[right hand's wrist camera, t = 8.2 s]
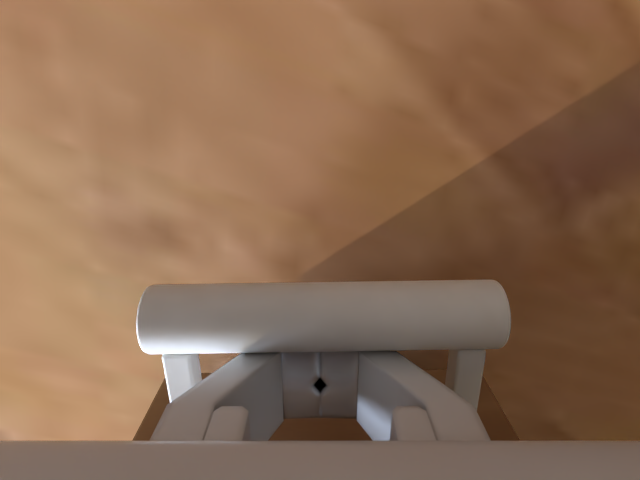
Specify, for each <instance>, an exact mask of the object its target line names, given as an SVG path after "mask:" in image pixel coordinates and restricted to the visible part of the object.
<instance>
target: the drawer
mask: <svg viewBox="0 0 640 480" xmlns="http://www.w3.org/2000/svg"><path fill="white" fill-rule="evenodd" d="M136 328H137V337H138V342H139V345H140V347H141V349H142V350H143V351H144V352H145V353H147V354H163V355H162V361H163V367H164V372H165V379H164V381H163V383H162V384H161V386H160V388H159V390H158V392H157V394H156V396H155V398H154V400H153V402H152V404H151V406H150V408H149V410H148V411H147V413H146V415H145V417H144V419H143V421H142V423H141V425H140V427H139V429H138V431H137V433H136V435H135V436H134V438H133V440H132V441H149V440H150V438H151V436H152V434H153V432H154V430H155V428H156V426H157V424H158V422H159V420H160V418H161V416H162V414H163V412H164V410H165V408H166V406H167V404H169V403H170V402H172V401H173V400H174V399H176V398H177V397H179V396H180V395H182V394H183V393H185V392H186V391H187V390H189V389H190V388H192V387H193V386H195V385H196V384H198V383H199V382H200V381H202V380H203V379H205V378H206V377H208V376H209V375H211V374H212V373H201V368H200V361H199V354H202V353H267V352H332V351H398V350H449V355H448V364H447V369H445V370H424V371H425V372H427V373H428V374H430V375H431V376H432V377H434V378H435V379H437V380H438V381H440V382H441V383H443V384H444V385H445V386H447V387H448V388H450V389H451V390H453V391H454V392H455V393H457V394H458V395H460V396H461V397H463V398H464V399H465V400H467V401H468V402H470V403H471V404H473V405H474V407H475V409H476V411H477V413H478V415H479V417H480V419H481V421H482V423H483V425H484V427H485V429H486V432H487V434H488V436H489V438H490V440H491V441H520V440H519V438H518V437H517V435H516V433H515V431H514V430H513V428H512V426H511V424H510V423H509V421H508V419H507V417H506V416H505V414H504V412H503V410H502V409H501V407H500V405H499V403H498V402H497V400H496V398H495V396H494V395H493V393H492V391H491V389H490V388H489V386H488V384H487V382H486V381H485V379H484V377H483V369H484V363H485V356H486V351H485V349H500V348H502V347H504V346H505V345H506V343H507V341H508V339H509V336H510V330H511V312H510V305H509V301H508V298H507V295H506V292H505V290H504V289H503V287H502V286H501V284H500V283H499V282H497V281H495V280H424V281H357V282H290V283H223V284H157V285H151V286H149V287H148V288H147V289H146V290H145V291H144V293H143V295H142V297H141V299H140V302H139V306H138V311H137V321H136ZM283 420H284V421H283V422H282V423H281V425H280V426H279V427H278V428H277V430H276V431H275V432H274V433H273V435H272V436H271V437H270V438H269V440H268V441H373V440H372V439H371V438H370V437H369V435H368V434H367V433H366V432H365V430H364V429H363V428H362V427H361V425H360V424H359V423H358V422H357V419H344V418H296V419H283Z"/></svg>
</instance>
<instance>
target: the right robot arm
mask: <svg viewBox="0 0 640 480" xmlns="http://www.w3.org/2000/svg"><path fill="white" fill-rule="evenodd" d="M296 418H344V419H357V422H358V423H359V424H360V425H361V427H362V428H363V429H364V430H365V432H366V433H367V434H368V435H369V437H370V438H371V439H372V440H373V441H268V440H269V438H270V437H271V436H272V435H273V433H274V432H275V431H276V430H277V428H278V427H279V426H280V425H281V423H282V422H283V421H284V420H283V419H296ZM0 480H640V441H491V440H490V438H489V436H488V434H487V432H486V429H485V427H484V425H483V423H482V421H481V419H480V417H479V415H478V413H477V411H476V409H475V407H474V405H473V404H471V403H470V402H468V401H467V400H465V399H464V398H463V397H461V396H460V395H458V394H457V393H455V392H454V391H453V390H451V389H450V388H448V387H447V386H445V385H444V384H443V383H441V382H440V381H438V380H437V379H435V378H434V377H432V376H431V375H430V374H428V373H427V372H425V371H424V370H422V369H421V368H420V367H418V366H417V365H415V364H414V363H412V362H411V361H409V360H408V359H407V358H405V357H404V356H402V355H401V354H399V353H398V352H397V351H332V352H267V353H241V354H239V355H238V356H237V357H235V358H234V359H232V360H231V361H229V362H228V363H226V364H225V365H224V366H222V367H221V368H219V369H218V370H216V371H215V372H213V373H212V374H211V375H209V376H208V377H206V378H205V379H203V380H202V381H200V382H199V383H198V384H196V385H195V386H193V387H192V388H190V389H189V390H187V391H186V392H185V393H183V394H182V395H180V396H179V397H177V398H176V399H174V400H173V401H172V402H170V403H169V404H167V406H166V408H165V410H164V412H163V414H162V416H161V418H160V420H159V422H158V424H157V426H156V428H155V430H154V432H153V434H152V436H151V438H150V440H149V441H0Z"/></svg>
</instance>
